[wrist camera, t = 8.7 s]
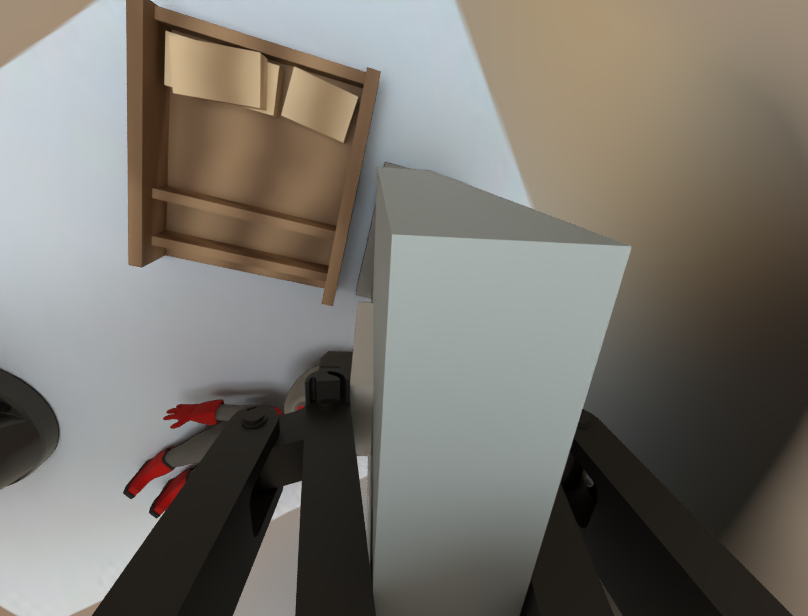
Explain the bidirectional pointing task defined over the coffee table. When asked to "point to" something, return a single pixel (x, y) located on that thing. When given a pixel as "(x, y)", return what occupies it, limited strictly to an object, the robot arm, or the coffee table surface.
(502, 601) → the grey flat slab
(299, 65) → the rack
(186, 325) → the coffee table surface
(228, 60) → the offcut
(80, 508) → the coffee table surface
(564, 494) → the robot arm
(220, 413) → the toy
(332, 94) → the offcut
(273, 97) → the offcut
